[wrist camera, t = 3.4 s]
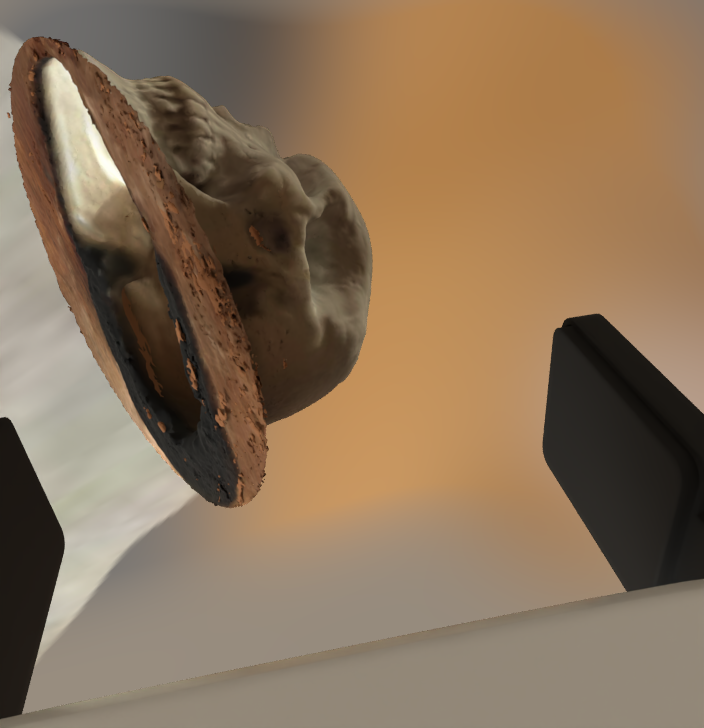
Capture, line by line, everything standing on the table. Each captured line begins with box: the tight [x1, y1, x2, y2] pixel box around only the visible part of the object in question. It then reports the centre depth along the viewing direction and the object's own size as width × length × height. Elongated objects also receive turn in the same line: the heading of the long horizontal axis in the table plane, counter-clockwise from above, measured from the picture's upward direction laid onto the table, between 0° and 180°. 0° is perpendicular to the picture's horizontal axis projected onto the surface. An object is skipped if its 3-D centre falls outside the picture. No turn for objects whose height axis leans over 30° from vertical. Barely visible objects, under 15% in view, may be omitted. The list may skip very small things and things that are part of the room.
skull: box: [7, 37, 372, 508], centre depth 17 cm, size 12×10×10 cm
